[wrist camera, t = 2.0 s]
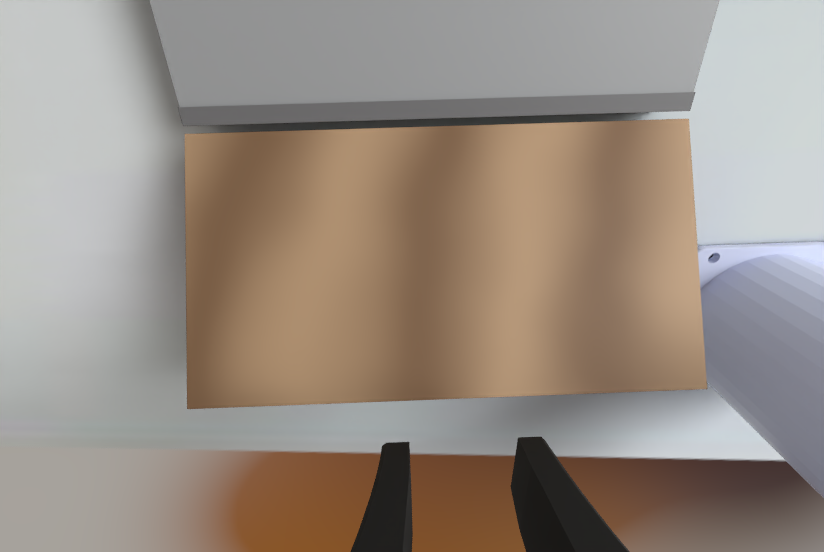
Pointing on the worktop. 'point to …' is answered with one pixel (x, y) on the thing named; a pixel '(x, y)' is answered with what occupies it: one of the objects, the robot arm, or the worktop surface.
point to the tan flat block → (441, 263)
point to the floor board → (429, 58)
